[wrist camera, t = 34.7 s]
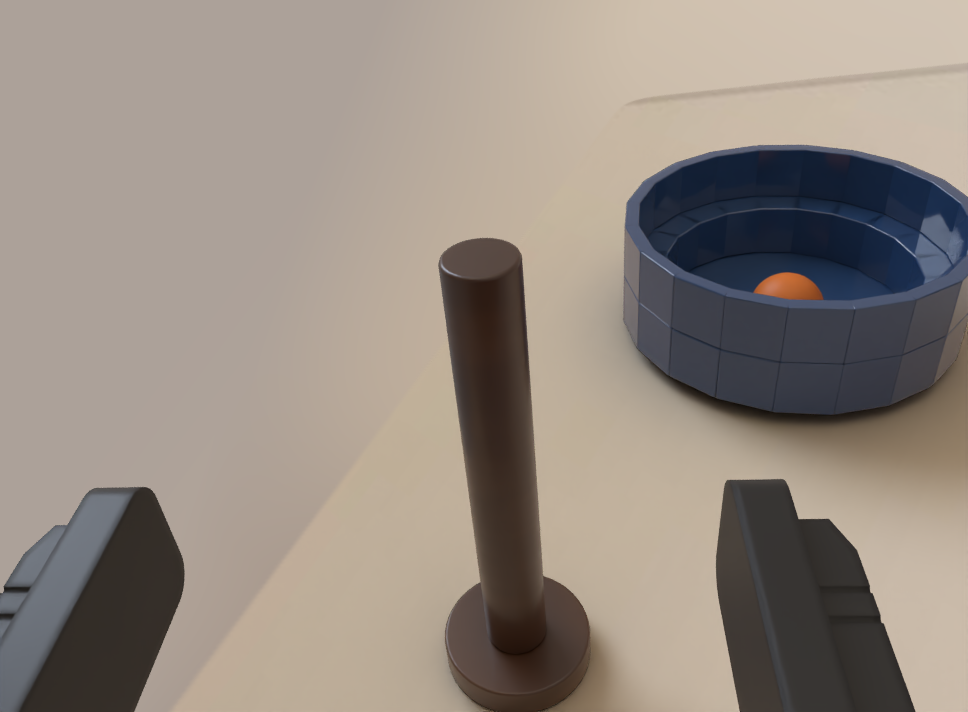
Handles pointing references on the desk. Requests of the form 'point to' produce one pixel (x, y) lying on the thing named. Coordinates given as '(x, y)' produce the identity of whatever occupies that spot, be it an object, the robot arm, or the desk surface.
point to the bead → (789, 287)
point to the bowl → (802, 250)
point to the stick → (503, 497)
